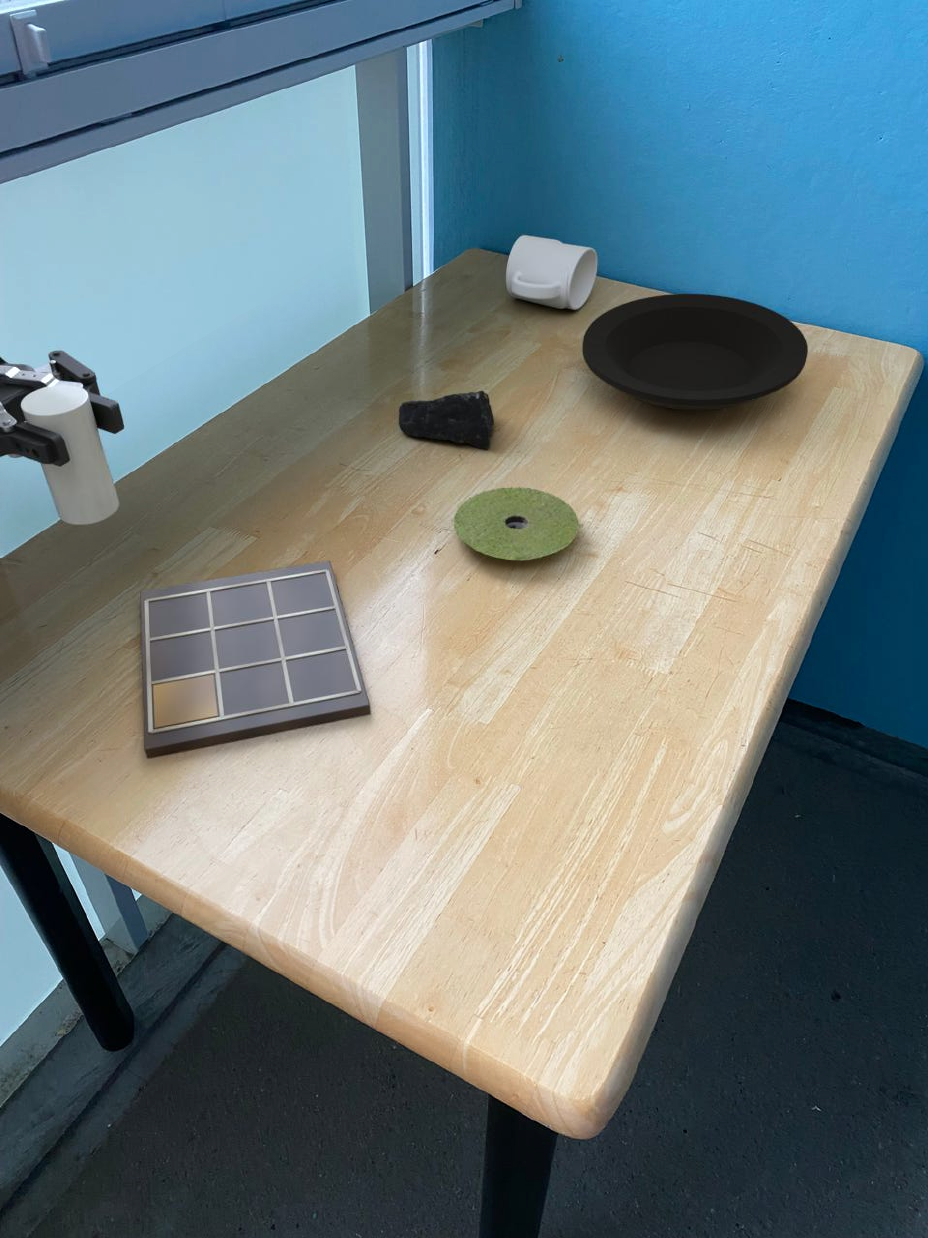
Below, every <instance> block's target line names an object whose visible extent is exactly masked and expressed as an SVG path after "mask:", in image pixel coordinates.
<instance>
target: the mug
mask: <svg viewBox="0 0 928 1238" xmlns="http://www.w3.org/2000/svg"><path fill="white" fill-rule="evenodd" d="M597 270H598V254H597V251H596V249H594V248H593V247H588V246H583V245H575V244H569V243H563V242H562V241H560V240H558V239H553V238H545V237H539V236H534V235H526V234H522V235H520V236H519V237H518V238H517V240H516V241H515V242H514V243H513V246H512V248H511V250H510V253H509V256H508V259H507V264H506V272H505V284H506V290H507V294H508V295H509V296H510V297H512V298H515V299H518V300H522V301H526V302H530V303H535V304H539V305H543V306H546V307H551V308H554V309H560V310H562V309H563V310H564V309H569V310H574V311H577V310H579V309H580V308H582V307H583V306H584V305H585V303H586V302H587V300H588V299H589V297H590V295H591V292H592V290H593V288H594V285H595V281H596V277H597V272H598V271H597Z"/></svg>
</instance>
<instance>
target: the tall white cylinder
mask: <svg viewBox="0 0 928 1238" xmlns="http://www.w3.org/2000/svg"><path fill="white" fill-rule="evenodd" d="M21 408H22V411H23V414H24V417H25V420H26V421H25V422H27V423H29V424H32V425H35V426H38V427H41V428H43V429H46V430H49V431H52V432H55V433H58V434H59V435H61V436H62V438H63V439H64V441H65V444H66V448H67V451H68V454H69V457H70V461H69V462H68V463H66V464H64V465H63V466H61V467H59V466H56V465H53V464H42V463H40V466H41V469H42V472H43V475H44V478H45V480H46V481H45V482H46V483H47V486H48V489H49V492H50V496H51V498H52V502H53V504H54V508H55V510H56V513H57V515H58V517H59V519H60V520H61V521H63V522H64V523H66V524H70V525H74V526H85V525H91V524H95V523H96V524H97V523H99V522H101V521H104V520H106V519H108V518H110V517H111V516H113V515H114V514H115V513H116V512H117V511H118V509H119V508H120V507H119V506H120V500H119V496H118V493H117V489H116V486H115V482H114V479H113V475H112V472H111V468H110V465H109V462H108V458H107V455H106V451H105V447H104V445H103V441H102V438H101V433H100V429H98V427H97V423H96V420H95V416H94V413H93V409H92V406H91V402H90V399H89V395H88V393H87V391H86V390H85V389H83V388H81V387H79V386H74V385H54V386H48V387H44V388H41V389H38V390H36V391H34V392H32V393H30V394H28V395H27V396H26V397H25V398H24V399H23V400H22V402H21Z"/></svg>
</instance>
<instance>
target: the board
mask: <svg viewBox="0 0 928 1238" xmlns="http://www.w3.org/2000/svg"><path fill="white" fill-rule="evenodd" d="M139 595H140V596H139V597H140V629H141V630H140V636H141V640H140V641H141V674H142V679H141V680H142V715H143V719H142V721H143V750H144V753H145V757H146V758H147V759H153V758H157V757H162V756H167V755H172V754H177V753H182V752H186V751H192V750H197V749H202V748H206V747H212V746H218V745H222V744H223V745H224V744H227V743H233V742H238V741H243V740H247V739H252V738H253V739H254V738H258V737H262V736H267V735H271V734H277V733H283V732H287V731H293V730H297V729H302V728H307V727H312V726H317V725H322V724H323V725H324V724H328V723H332V722H337V721H338V722H339V721H343V720H348V719H352V718H358V717H363V716H368V715H371V713H372V711H371V703H370V700H369V697H368V694H367V690H366V686H365V682H364V678H363V674H362V671H361V668H360V664H359V660H358V656H357V652H356V649H355V646H354V642H353V640H352V636H351V631H350V627H349V624H348V621H347V617H346V613H345V610H344V606H343V602H342V597H341V595H340V591H339V588H338V584H337V581H336V577H335V574H334V570H333V567H332V562H331V560H323V561H318V562H312V563H306V564H300V565H293V566H287V567H281V568H280V567H279V568H275V569H274V568H273V569H269V570H263V571H256V572H250V573H245V574H238V575H233V576H226V577H221V578H215V579H208V580H203V581H196V582H195V581H194V582H189V583H182V584H177V585H172V586H165V587H159V588H153V589H146V590H141V591H140V594H139Z"/></svg>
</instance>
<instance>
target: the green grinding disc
mask: <svg viewBox="0 0 928 1238" xmlns="http://www.w3.org/2000/svg"><path fill="white" fill-rule="evenodd" d="M453 527H454V530H455V532H456V535H457V536H458V537H459V538H460V539H461V541H462V542H463V543H465V544H466V545H467V546H468V547H470V548H471V549H472V550H475V551H476V552H479V553H482V554H483V555H486V556H489V557H491V558H496V559H501V560H502V559H503V560H510V561H530V560H531V561H532V560H537V559H541V558H542V557H547V556H550V555H552V554H557V552H559V551H561V550H563V549H565V548H566V547H569V545H570V544H571V543H572V542H573V541H574V539H575V538H576V537H577V534H578V531H579V527H580V523H579V518H578V516H577V513H576V512H575V510H574V508H573V507H571V505H569V504H568V503H567V502H566V501H565V500H563V499H561V498H560V497H558V496H555V495H553V494H551V493H549V492H546V491H542V490H539V489H535V488H531V487H520V486H517V487H513V486H511V487H501V488H500V487H499V488H496V489H490V490H487V491H486V490H485V491H482V492H480V493H476V494H475V495H473V496H472V497H469V498H468V499H467V500H465V501H464V502H462V503H461V504H460V505H459V507H458V509H457V510H456V512H455V515H454V518H453Z"/></svg>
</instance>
